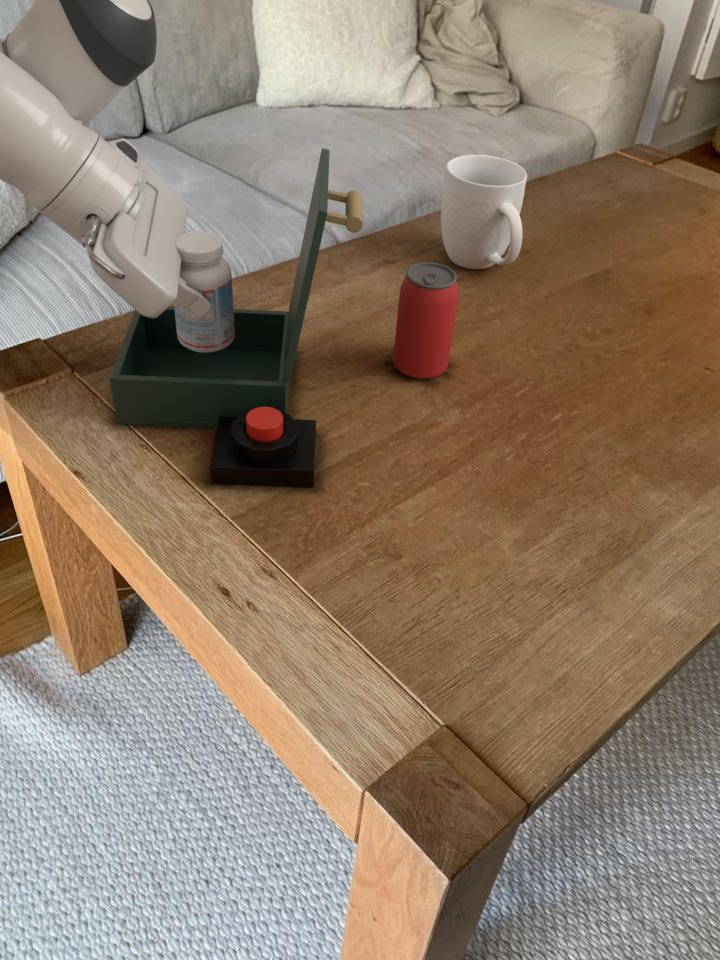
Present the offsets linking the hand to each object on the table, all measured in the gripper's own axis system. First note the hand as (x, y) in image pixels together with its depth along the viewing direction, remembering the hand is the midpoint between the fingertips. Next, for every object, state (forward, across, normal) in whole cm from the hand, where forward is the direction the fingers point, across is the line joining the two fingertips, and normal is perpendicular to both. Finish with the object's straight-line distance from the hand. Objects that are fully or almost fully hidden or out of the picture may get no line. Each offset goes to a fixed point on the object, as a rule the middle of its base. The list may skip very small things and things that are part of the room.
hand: (208, 290), depth 84 cm
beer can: (+26, +4, -8) cm, 27 cm away
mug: (+34, +30, -17) cm, 48 cm away
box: (+8, 0, +9) cm, 12 cm away
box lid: (+4, -1, -9) cm, 10 cm away
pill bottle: (+4, 0, +5) cm, 6 cm away
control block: (+12, -13, +5) cm, 18 cm away
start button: (+10, -13, +2) cm, 16 cm away
